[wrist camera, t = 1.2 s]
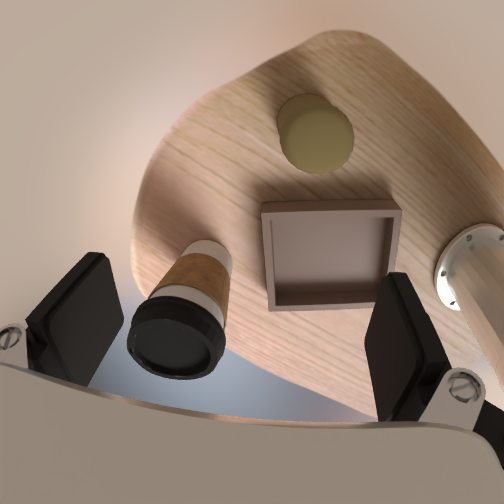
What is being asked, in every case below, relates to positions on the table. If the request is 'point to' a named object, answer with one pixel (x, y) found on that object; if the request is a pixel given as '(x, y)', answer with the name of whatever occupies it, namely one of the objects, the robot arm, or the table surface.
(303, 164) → the tan tall rounded piece
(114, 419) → the robot arm
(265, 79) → the table surface
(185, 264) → the coffee cup
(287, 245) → the lacquer tray
